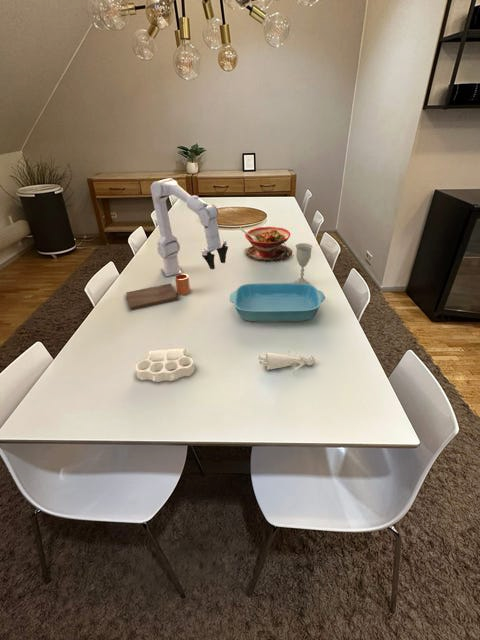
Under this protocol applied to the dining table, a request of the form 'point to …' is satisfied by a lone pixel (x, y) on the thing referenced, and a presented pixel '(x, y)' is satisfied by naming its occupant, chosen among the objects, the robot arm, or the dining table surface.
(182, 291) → the tumbler
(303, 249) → the chalice
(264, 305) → the casserole dish
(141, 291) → the serving board
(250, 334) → the dining table surface
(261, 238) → the stew
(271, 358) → the woman figurine
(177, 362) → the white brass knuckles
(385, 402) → the dining table surface
